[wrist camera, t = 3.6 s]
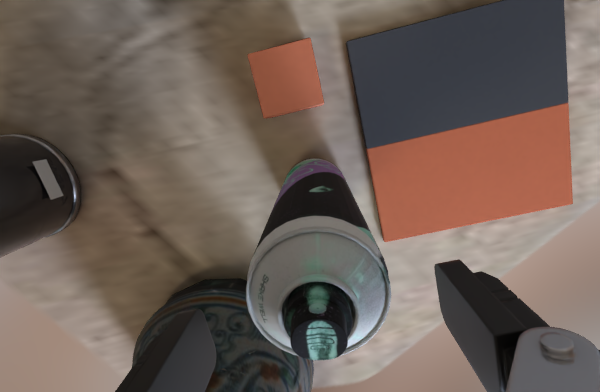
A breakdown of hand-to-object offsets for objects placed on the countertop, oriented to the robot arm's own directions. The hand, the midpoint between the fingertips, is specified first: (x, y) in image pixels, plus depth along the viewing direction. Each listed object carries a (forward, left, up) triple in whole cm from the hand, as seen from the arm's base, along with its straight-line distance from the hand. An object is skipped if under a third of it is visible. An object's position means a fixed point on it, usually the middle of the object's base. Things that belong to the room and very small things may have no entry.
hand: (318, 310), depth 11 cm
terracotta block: (0, +9, -18) cm, 20 cm away
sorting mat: (+13, +2, -19) cm, 23 cm away
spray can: (0, 0, -19) cm, 19 cm away
